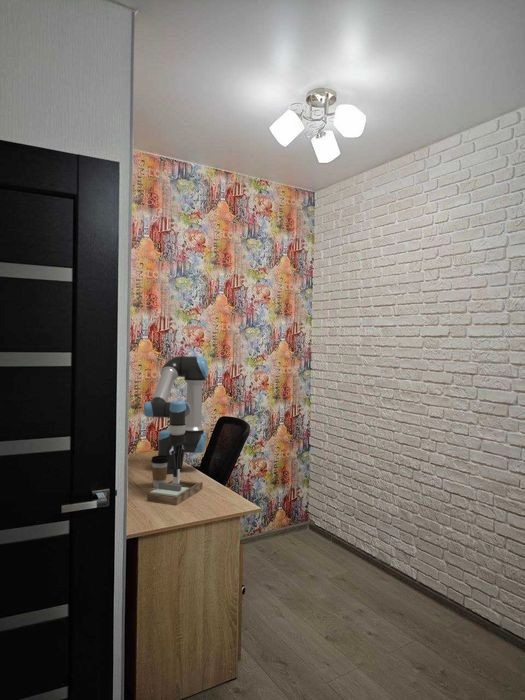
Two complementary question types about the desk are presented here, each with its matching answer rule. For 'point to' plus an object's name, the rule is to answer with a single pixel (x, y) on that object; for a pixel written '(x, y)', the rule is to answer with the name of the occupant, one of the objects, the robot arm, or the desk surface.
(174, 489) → the lid
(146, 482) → the desk surface
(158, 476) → the coffee cup
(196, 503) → the desk surface
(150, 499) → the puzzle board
